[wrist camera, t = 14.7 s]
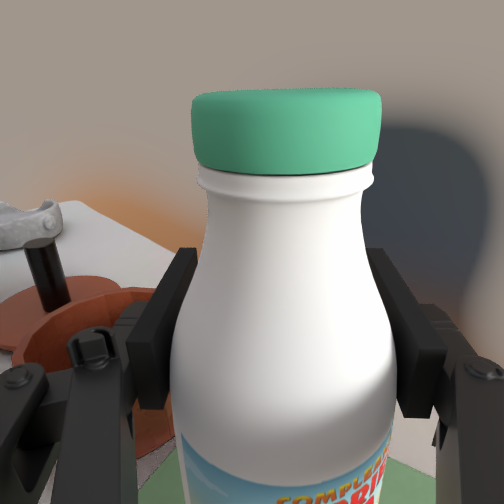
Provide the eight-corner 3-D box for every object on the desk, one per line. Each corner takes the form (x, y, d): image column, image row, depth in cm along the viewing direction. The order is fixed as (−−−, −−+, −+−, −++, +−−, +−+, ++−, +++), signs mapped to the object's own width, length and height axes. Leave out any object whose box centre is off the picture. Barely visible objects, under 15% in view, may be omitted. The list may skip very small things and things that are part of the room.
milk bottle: (162, 557, 17) (53, 94, 8) (265, 443, 22) (263, 87, 14) (299, 732, 12) (364, 93, 4) (388, 535, 17) (501, 83, 9)
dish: (-22, 230, 63) (-33, 203, 61) (64, 217, 68) (58, 192, 66) (-40, 263, 51) (-54, 231, 49) (66, 244, 57) (58, 214, 54)
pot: (-36, 444, 25) (-72, 377, 22) (150, 315, 39) (141, 263, 36) (72, 551, 19) (40, 477, 16) (247, 354, 33) (245, 296, 30)
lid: (-38, 328, 37) (-72, 253, 34) (77, 274, 48) (61, 212, 44) (34, 376, 31) (2, 290, 27) (149, 301, 41) (137, 232, 37)
